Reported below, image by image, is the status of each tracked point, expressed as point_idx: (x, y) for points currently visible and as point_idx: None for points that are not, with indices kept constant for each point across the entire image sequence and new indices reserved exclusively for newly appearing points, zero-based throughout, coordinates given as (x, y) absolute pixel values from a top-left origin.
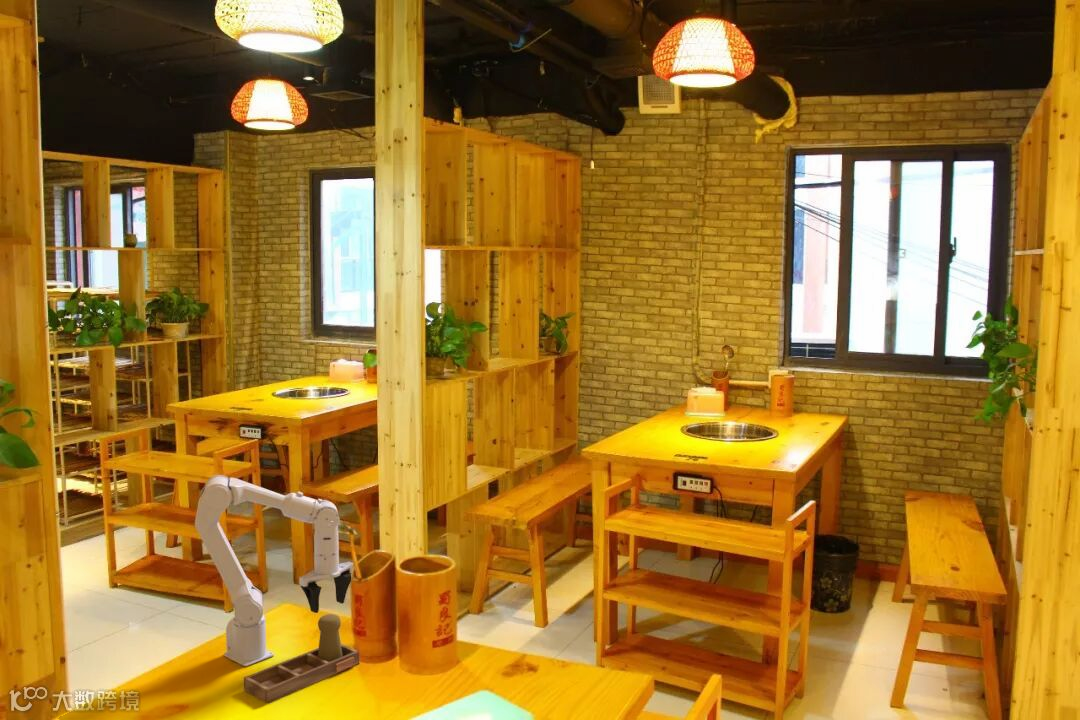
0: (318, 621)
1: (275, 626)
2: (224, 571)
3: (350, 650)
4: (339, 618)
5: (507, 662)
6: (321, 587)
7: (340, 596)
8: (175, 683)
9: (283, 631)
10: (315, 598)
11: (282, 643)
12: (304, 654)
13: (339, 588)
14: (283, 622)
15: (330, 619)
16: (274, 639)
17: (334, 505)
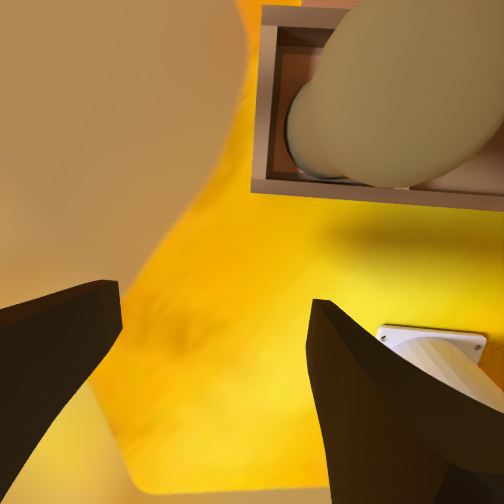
0: (477, 151)
1: (238, 442)
2: None
3: (274, 61)
4: (363, 7)
5: None
6: (450, 463)
7: (89, 320)
8: None
9: (245, 411)
10: (409, 365)
11: (301, 364)
12: (414, 197)
13: (40, 378)
14: (209, 444)
15: (488, 6)
16: (295, 396)
17: None
